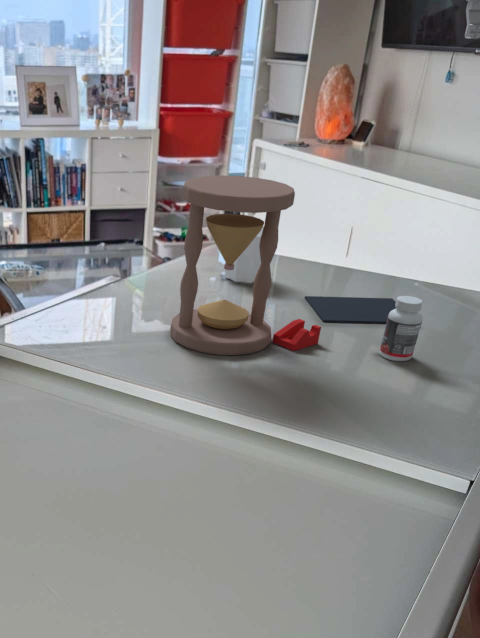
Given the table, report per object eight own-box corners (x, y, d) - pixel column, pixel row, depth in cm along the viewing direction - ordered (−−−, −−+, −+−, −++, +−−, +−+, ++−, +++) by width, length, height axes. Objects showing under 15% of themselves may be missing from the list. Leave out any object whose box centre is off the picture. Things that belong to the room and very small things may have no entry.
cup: (276, 280, 163) (284, 233, 157) (241, 287, 158) (248, 238, 153) (245, 268, 170) (252, 222, 164) (211, 274, 165) (216, 227, 160)
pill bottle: (375, 349, 131) (389, 293, 126) (407, 351, 131) (422, 295, 126) (382, 361, 127) (397, 303, 122) (415, 363, 127) (431, 305, 121)
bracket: (296, 335, 136) (299, 318, 134) (317, 343, 133) (321, 326, 131) (272, 342, 132) (275, 325, 131) (293, 351, 129) (296, 334, 128)
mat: (391, 300, 154) (392, 298, 154) (417, 324, 143) (418, 322, 142) (304, 298, 154) (304, 296, 153) (323, 322, 142) (323, 320, 142)
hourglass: (261, 321, 141) (284, 177, 127) (278, 358, 127) (306, 199, 113) (166, 317, 141) (179, 173, 127) (172, 353, 126) (187, 195, 113)
